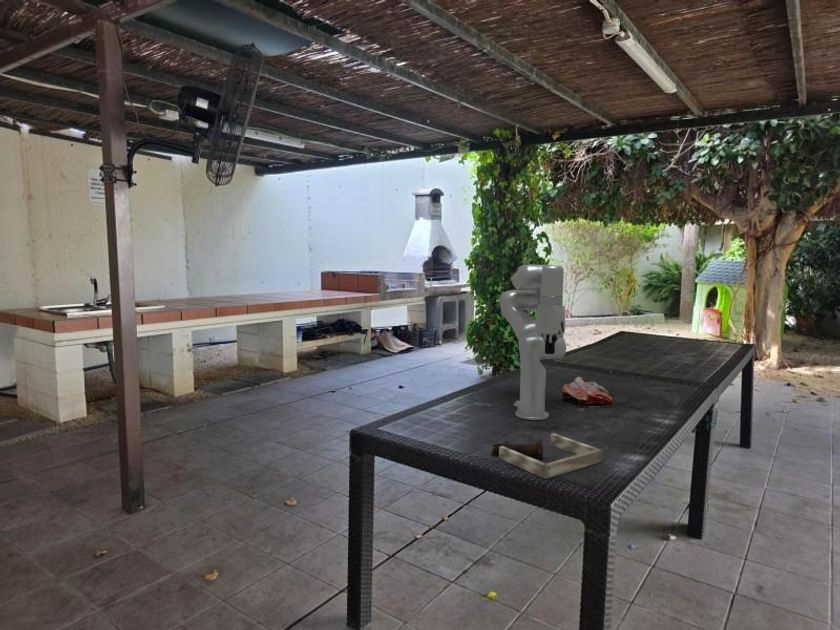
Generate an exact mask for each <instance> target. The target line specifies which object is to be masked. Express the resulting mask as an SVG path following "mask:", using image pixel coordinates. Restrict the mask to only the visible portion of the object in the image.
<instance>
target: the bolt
mask: <svg viewBox="0 0 840 630" xmlns="http://www.w3.org/2000/svg"><path fill="white" fill-rule="evenodd" d="M543 443H544V442H543V441H542V440H541V439H536V442H535V443H511V441H509V440H504V441H503V443H494V444H493V445H492V449H491V450H492V451H491V452H492V454H494V455H499V447H501V446H504V447H506V448H509V449H511V450H514V451H516V452H518V453H521V454H523V455H526V456H528V455H530V456H536V457H537V460H542V459H543V458H544V444H543Z"/></svg>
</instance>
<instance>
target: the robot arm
mask: <svg viewBox="0 0 840 630" xmlns="http://www.w3.org/2000/svg"><path fill="white" fill-rule="evenodd" d="M564 270H565V269H564V267H563V266H562V265H555V264H524V265H520V266H519V267H518V268H517V271H515V273H514V274H513V276H512V277H511V281H512V285H513V287H514V288H515V289H510V290H506V291H504V292H502V294H501V296H500V298H499V306H500V310H501V313H502V315H503V318H505V320H506V321H507V322H508V323H509V324H510V326H511V328H512V330H513V332H514V334H515V336H516V338H517V339H518V351H519V359H520V377H519V378H520V384H519V388H520V389H519V400H516V401H515V402H514V403H513V407H517V409H516V410H515V413H514V414H515V416H516V417H517V418H520V419H523V420H529V421H530V420H531V421H540V420H541V421H542V420H543V421H544V420H547V419H548V418H549V417H550V414H549V412H548V411H546V408H545V407H546V385H547V384H546V383H547V380H546V379H547V371H546V370H547V369H546V368H545V366H544V365H543V364H542V363H541V360H559V359H562V358H563V357H564V356H565V355H566V353H567V344H566V341H565V338H564V334H565V332H566V314H565V313H566V312H565V307H564V305H563V304H564V303H563V300H564V296H563V295H564V276H565V274H564V272H565V271H564ZM526 311H536V315H535V319H532V318H531V316H530V315H529V314H528V313H527V312H526Z"/></svg>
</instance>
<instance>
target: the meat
mask: <svg viewBox="0 0 840 630" xmlns="http://www.w3.org/2000/svg"><path fill="white" fill-rule="evenodd" d="M561 387H562V388H561V390H562V392H561V396H562V398H567V397H570V396H573V397H572V398H574V399H576V400H577V403H578V405H577V407H578V406H579V405H582V406H600V407H601V406H606V405H612V403H613V397H612V396H611V395H610V393H609V391H608V390H607V389H606V388H604V387H603V386H601V385H599V384H598V383H597V382H595V381H586V380H585V378H584V377H582V376H577V377H576V378H575V379H574V380H573V382H570V383H568V384H567V383H565V384H564V385H562V386H561ZM567 399H568V398H567Z"/></svg>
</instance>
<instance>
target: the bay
mask: <svg viewBox="0 0 840 630" xmlns="http://www.w3.org/2000/svg"><path fill="white" fill-rule="evenodd" d="M550 445H551V446H553V447H556V448H559V449H561V450H563V451H566V452H568V453H571V454H574V455H571V456H568V457H564V458H561V459H557V460H554V461H551V462H547V463H545V462H542V461H541V460H539V459H535V458H533V457H531V456H528V455H527V454H521V453H518V452H516V451H514V450H511V449H509V448H506V447H504V446H501V447H499V454H498V459H500V460H502V461H503V462H505V463H509V464H511V465H512V466H515V467H518V468H520V469H522V470H524V471H526V472H529V473H531V474H534V475H536V476H538V477H540V478H542V479H545V480H547V479H550V478H553V477H557V476H560V475H564V474H566V473H569V472H573V471H575V470H580V469H581V468H582V469H583V468H586V467H589V466H592V465H595V464H598V463H601V462H603V449H601V448H598V447H595V446H592V445H589V444H586V443H583V442H580V441H577V440H575V439H571V438H568V437H565V436H563V435H559V434H557V433H551V434H550Z"/></svg>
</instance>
